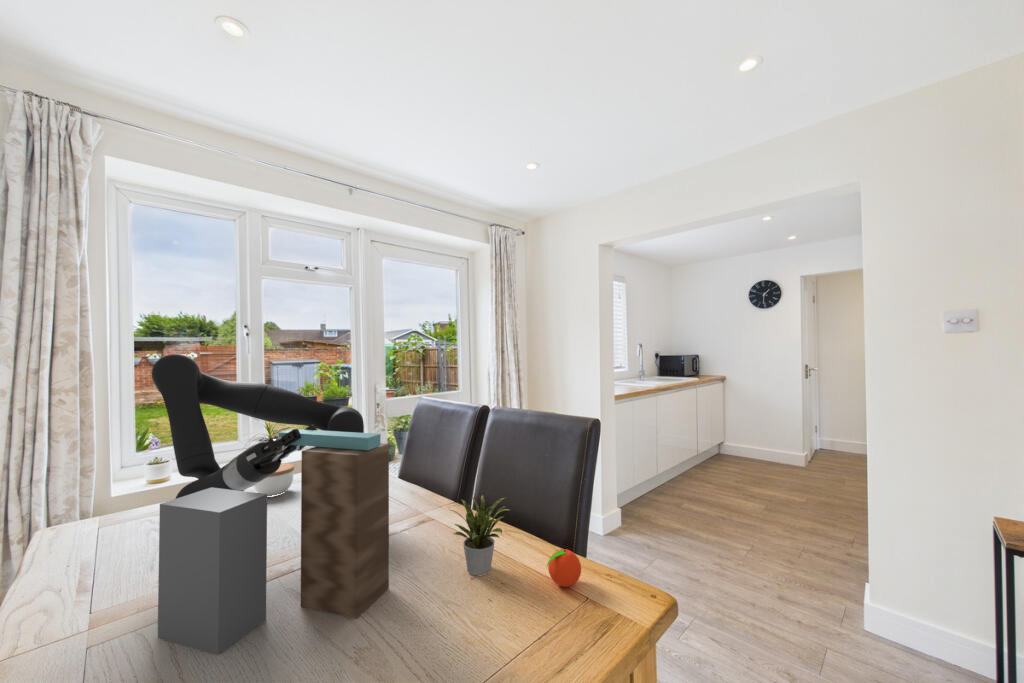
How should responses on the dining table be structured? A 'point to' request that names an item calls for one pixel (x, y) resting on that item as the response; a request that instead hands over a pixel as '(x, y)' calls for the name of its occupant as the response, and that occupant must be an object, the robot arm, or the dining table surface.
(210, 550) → the block
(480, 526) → the house plant
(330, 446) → the block
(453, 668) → the dining table surface
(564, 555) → the clementine
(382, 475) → the stand
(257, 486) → the lidded bowl
